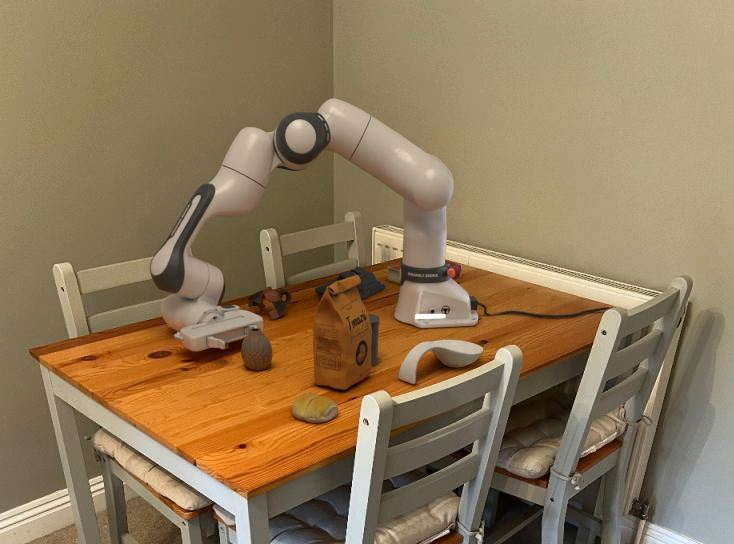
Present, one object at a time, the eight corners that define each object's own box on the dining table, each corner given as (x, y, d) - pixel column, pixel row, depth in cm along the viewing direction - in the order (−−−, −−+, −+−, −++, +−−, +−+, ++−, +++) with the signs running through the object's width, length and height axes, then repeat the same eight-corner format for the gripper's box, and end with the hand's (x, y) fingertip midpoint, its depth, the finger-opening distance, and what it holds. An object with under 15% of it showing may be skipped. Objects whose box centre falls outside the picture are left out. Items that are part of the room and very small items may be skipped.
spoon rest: (451, 349, 179) (454, 320, 175) (491, 362, 172) (495, 332, 168) (386, 376, 164) (387, 345, 160) (427, 391, 158) (429, 359, 154)
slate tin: (378, 355, 175) (379, 313, 169) (378, 367, 168) (379, 323, 163) (347, 355, 175) (347, 312, 169) (346, 367, 168) (346, 323, 163)
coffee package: (378, 378, 163) (381, 277, 151) (344, 396, 155) (344, 291, 143) (342, 367, 168) (342, 268, 156) (307, 384, 160) (304, 281, 148)
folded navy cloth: (305, 296, 213) (305, 279, 210) (346, 278, 229) (346, 263, 226) (351, 305, 207) (351, 288, 204) (389, 286, 223) (390, 270, 220)
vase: (276, 362, 170) (274, 325, 165) (269, 373, 164) (267, 335, 160) (246, 360, 171) (243, 323, 166) (239, 372, 165) (236, 333, 160)
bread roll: (307, 402, 152) (307, 384, 150) (343, 413, 148) (343, 394, 146) (282, 416, 146) (281, 397, 144) (319, 428, 142) (319, 408, 140)
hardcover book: (461, 277, 232) (462, 263, 230) (412, 289, 221) (413, 274, 219) (434, 269, 240) (435, 255, 238) (386, 280, 228) (386, 266, 226)
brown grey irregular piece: (264, 324, 193) (249, 295, 191) (254, 330, 202) (239, 302, 199) (302, 305, 197) (288, 276, 195) (291, 312, 206) (277, 284, 203)
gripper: (168, 321, 168) (202, 337, 160) (241, 303, 180) (277, 317, 172) (171, 348, 172) (205, 365, 163) (243, 328, 184) (278, 343, 176)
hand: (243, 340), depth 168 cm, fingers open, 8 cm apart
